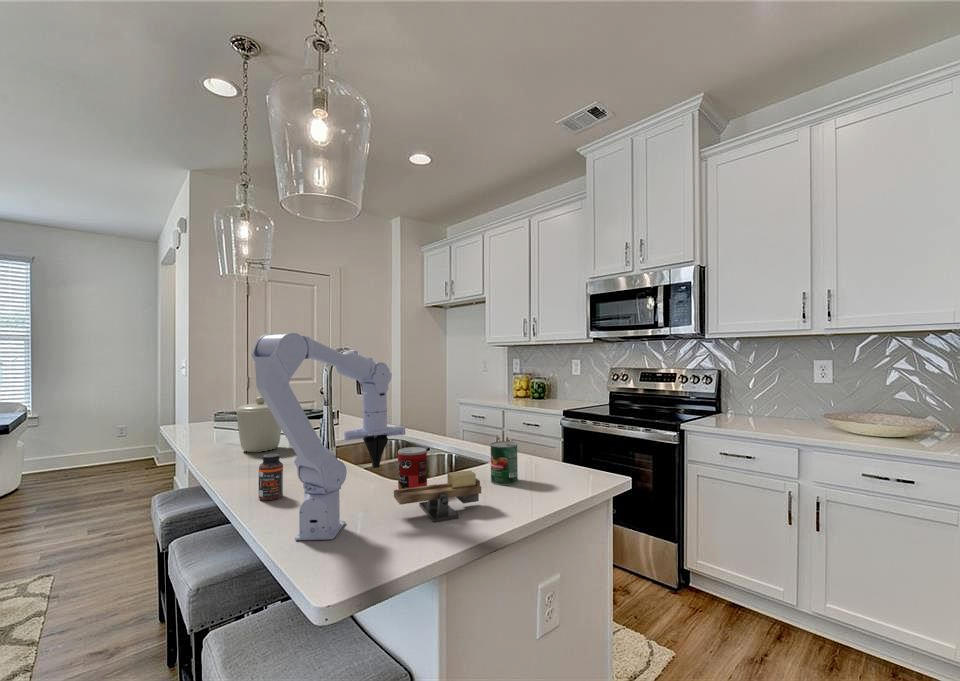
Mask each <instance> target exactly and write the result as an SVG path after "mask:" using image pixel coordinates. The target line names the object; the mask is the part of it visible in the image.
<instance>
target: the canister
mask: <svg viewBox="0 0 960 681" xmlns="http://www.w3.org/2000/svg"><path fill="white" fill-rule="evenodd" d="M254 400H255V403H248V404H243V405H240V406H238V407H237V408H236V409H234V412H235V413H236V419H237V429H238V435H239V442H240V443H239V444H240V447H241V449H242V451H244V452H246V451H247V453H263V452H262V451H265V452H269V451H268V450H270V451H273V450H275V449H277V448H278V446H279V445H280V442H281V441H280V440H281V436H282V429H281V428H280V426H279V424H278V423H277V421H276V419H275V418H274V416H273V414H272V413H271V411H270V409H269V408H268V406H267V404H266V402H265V401H264V399H263V397H262V396H257V397H255V399H254ZM276 447H277V448H276ZM272 449H273V450H272Z"/></svg>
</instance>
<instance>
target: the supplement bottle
mask: <svg viewBox="0 0 960 681" xmlns="http://www.w3.org/2000/svg"><path fill="white" fill-rule="evenodd" d="M283 494H284V464H283V463H282V462H281V461H280V454H279V453H267V454H264V455H263V456H262V463H261V464H259V466H258V499H259V500H261V501H267V502H269V501H275V500H279V499H280V498H282V497H283V496H284V495H283Z"/></svg>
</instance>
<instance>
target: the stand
mask: <svg viewBox="0 0 960 681" xmlns="http://www.w3.org/2000/svg"><path fill="white" fill-rule="evenodd" d="M430 485H431V484H429V485H428V484H427V486H430ZM434 485H437V484H434ZM418 505H419V508H420V509H421V510H422V511H423V512H424V513H425V514H426V515H427V517H428V518H429V519H430V520H431V521H432V522H433V523H439V522H445V521H450V520H455V519H456V520H457V519H459V516H460V514H458V512H457V511H455V509H453V508H452V506H450V505H449V498H448V494H447V493H446V494H439V495H438V499H437V500H429V501H422V502H418Z"/></svg>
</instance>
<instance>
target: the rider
mask: <svg viewBox="0 0 960 681" xmlns="http://www.w3.org/2000/svg"><path fill="white" fill-rule="evenodd" d="M476 479H477V476H476V473H475V472H474V471H472V470H460V471H454V472H453V471H452V472H447V483H448V488H449V489H450V490H451V489H459V488H467V487H474V486H476Z"/></svg>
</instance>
